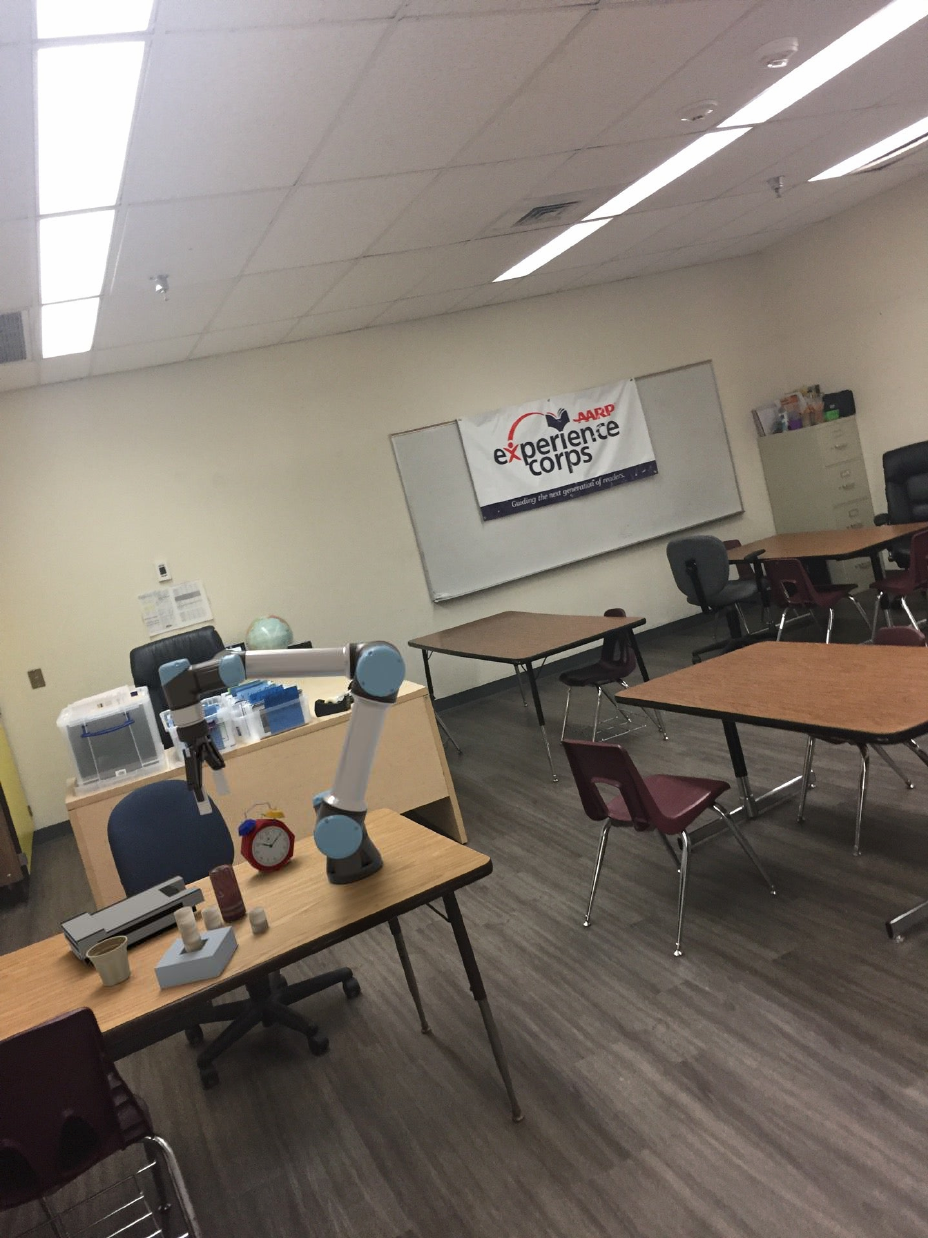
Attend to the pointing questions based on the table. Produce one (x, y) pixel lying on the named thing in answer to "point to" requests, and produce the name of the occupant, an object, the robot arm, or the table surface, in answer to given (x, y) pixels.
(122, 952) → the flower pot
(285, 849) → the alarm clock
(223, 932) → the hole block
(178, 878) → the game console
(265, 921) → the dowel short
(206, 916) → the dowel medium
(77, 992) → the table surface
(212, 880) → the can
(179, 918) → the dowel long
